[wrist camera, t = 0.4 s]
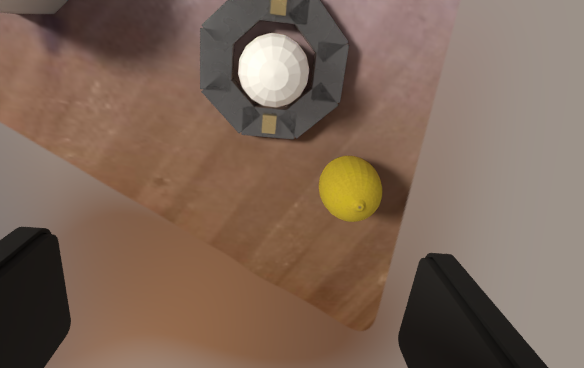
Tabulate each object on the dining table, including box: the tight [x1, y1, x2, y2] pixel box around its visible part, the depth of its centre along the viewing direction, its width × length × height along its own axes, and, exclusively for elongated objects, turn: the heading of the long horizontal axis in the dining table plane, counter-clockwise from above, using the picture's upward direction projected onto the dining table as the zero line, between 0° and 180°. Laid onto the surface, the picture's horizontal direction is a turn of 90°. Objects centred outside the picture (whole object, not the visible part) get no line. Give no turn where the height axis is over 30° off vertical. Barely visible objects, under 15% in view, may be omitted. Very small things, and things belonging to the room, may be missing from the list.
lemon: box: [319, 156, 382, 222], centre depth 32 cm, size 6×6×8 cm
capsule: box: [238, 33, 309, 107], centre depth 28 cm, size 5×5×8 cm
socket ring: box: [200, 0, 349, 139], centre depth 30 cm, size 12×12×2 cm
